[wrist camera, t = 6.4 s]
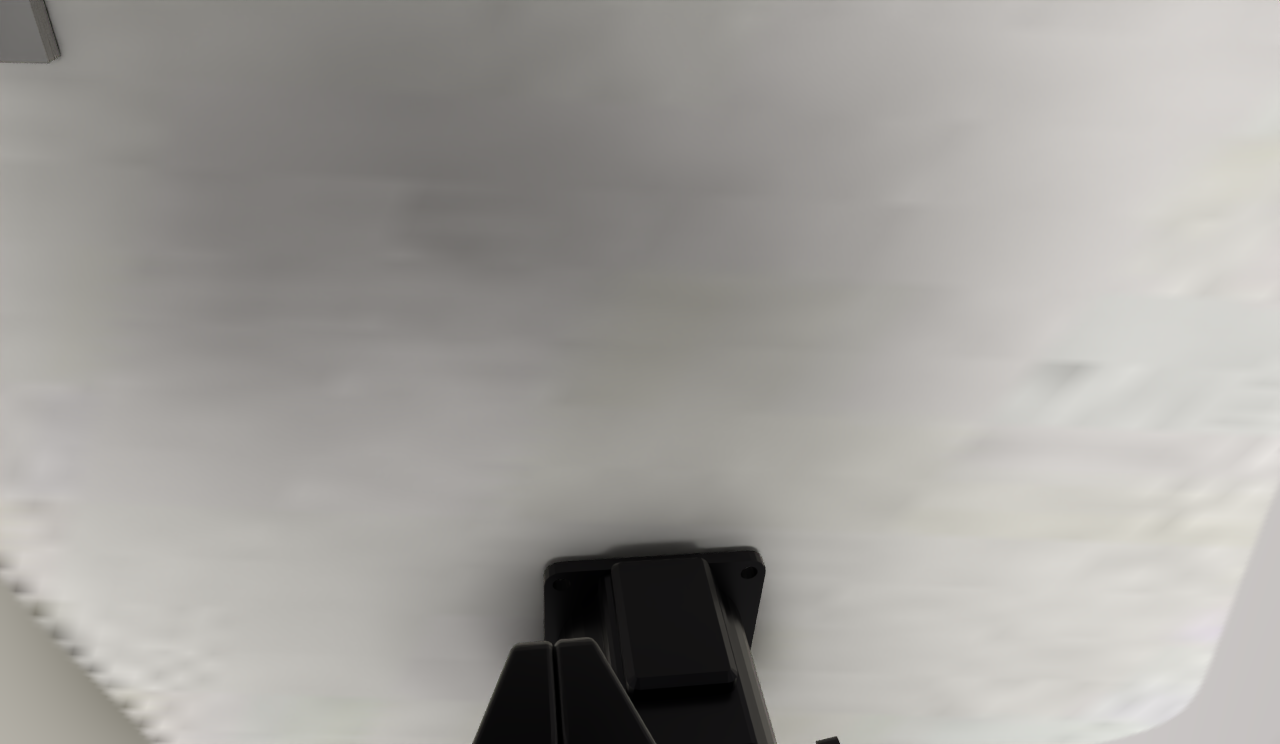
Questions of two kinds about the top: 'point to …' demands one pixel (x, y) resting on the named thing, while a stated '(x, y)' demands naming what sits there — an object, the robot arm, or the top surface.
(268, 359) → the top surface
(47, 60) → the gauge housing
